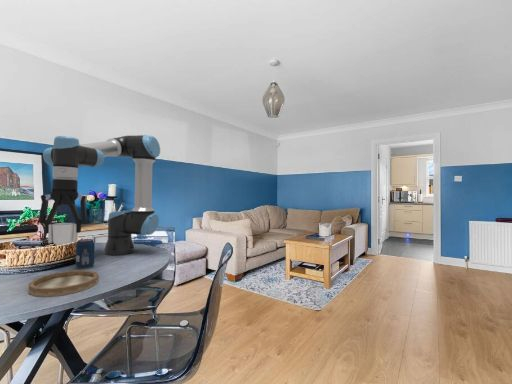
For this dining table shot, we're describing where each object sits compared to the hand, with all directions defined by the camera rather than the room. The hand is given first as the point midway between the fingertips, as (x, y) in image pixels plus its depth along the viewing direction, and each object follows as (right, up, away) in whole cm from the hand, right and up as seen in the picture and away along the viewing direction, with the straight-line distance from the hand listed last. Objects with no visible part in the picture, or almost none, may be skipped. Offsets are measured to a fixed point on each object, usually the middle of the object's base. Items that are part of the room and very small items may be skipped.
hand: (63, 241), depth 96 cm
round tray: (+2, -16, -1) cm, 16 cm away
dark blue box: (-6, -16, +22) cm, 27 cm away
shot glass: (0, -1, 0) cm, 1 cm away
